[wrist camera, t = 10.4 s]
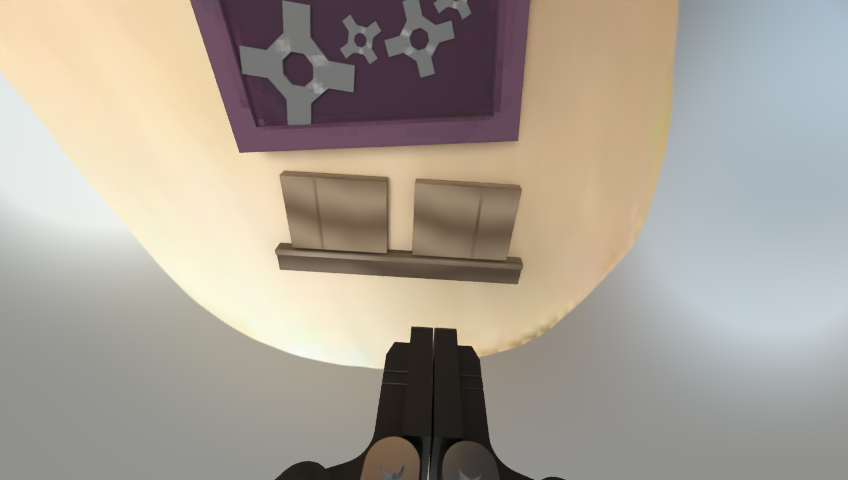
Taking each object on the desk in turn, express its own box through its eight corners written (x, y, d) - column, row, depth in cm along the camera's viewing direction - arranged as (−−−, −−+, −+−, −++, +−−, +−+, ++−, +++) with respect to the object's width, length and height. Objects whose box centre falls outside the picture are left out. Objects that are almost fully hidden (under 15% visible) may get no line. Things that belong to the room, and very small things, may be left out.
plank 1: (283, 170, 37) (279, 175, 36) (387, 177, 37) (386, 182, 36) (296, 241, 42) (292, 247, 41) (387, 247, 42) (386, 253, 41)
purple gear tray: (524, -90, 27) (541, -113, 22) (509, 127, 35) (519, 141, 31) (202, -66, 28) (160, -83, 24) (261, 138, 36) (237, 153, 32)
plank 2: (415, 178, 37) (415, 183, 36) (519, 185, 37) (521, 190, 36) (412, 249, 42) (412, 255, 41) (504, 254, 42) (506, 261, 41)
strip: (280, 242, 42) (274, 250, 41) (520, 257, 42) (523, 265, 41) (283, 263, 44) (279, 271, 42) (515, 277, 44) (518, 285, 42)
